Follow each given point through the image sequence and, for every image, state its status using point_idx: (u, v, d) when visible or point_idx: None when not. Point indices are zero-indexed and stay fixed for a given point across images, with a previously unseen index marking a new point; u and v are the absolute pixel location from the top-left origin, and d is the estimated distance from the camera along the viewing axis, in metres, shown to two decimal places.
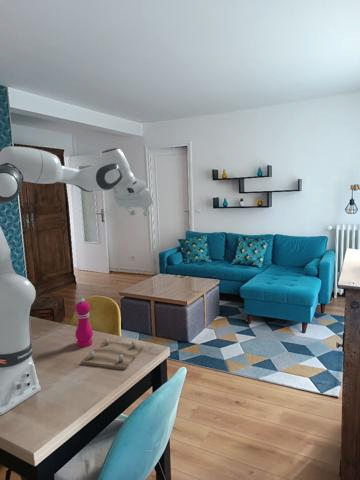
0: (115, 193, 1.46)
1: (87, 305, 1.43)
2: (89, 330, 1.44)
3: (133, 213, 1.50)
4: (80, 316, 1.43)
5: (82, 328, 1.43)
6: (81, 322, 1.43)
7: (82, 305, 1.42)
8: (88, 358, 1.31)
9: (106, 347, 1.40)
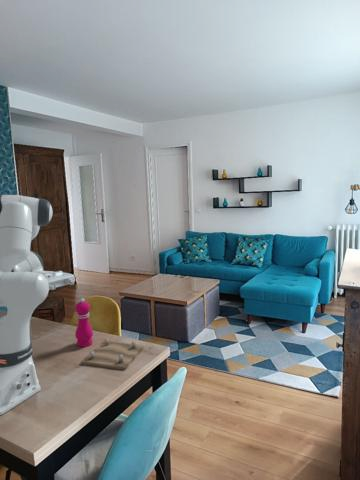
0: None
1: (87, 305, 1.43)
2: (89, 330, 1.44)
3: None
4: (80, 316, 1.43)
5: (82, 328, 1.43)
6: (81, 322, 1.43)
7: (82, 305, 1.42)
8: (88, 358, 1.31)
9: (106, 347, 1.40)
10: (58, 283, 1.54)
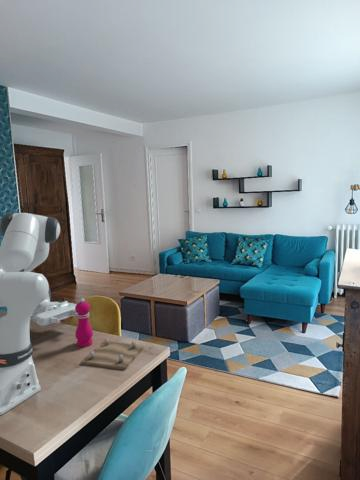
0: (39, 313, 1.51)
1: (87, 305, 1.43)
2: (89, 330, 1.44)
3: None
4: (80, 316, 1.43)
5: (82, 328, 1.43)
6: (81, 322, 1.43)
7: (82, 305, 1.42)
8: (88, 358, 1.31)
9: (106, 347, 1.40)
10: (64, 315, 1.54)
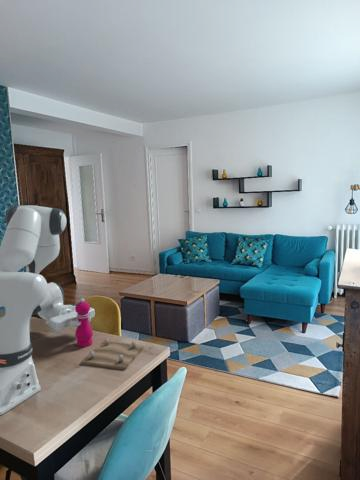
0: (52, 317, 1.45)
1: (87, 305, 1.43)
2: (89, 329, 1.44)
3: None
4: (80, 316, 1.43)
5: (82, 328, 1.43)
6: (81, 322, 1.43)
7: (82, 305, 1.42)
8: (88, 358, 1.31)
9: (106, 347, 1.40)
10: None
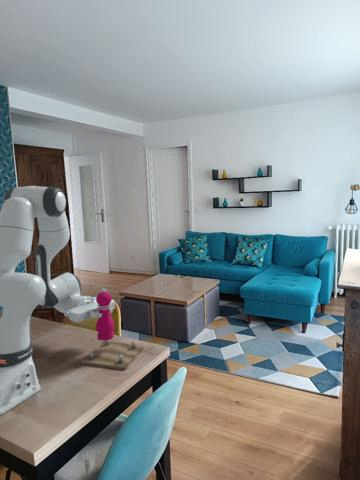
0: (71, 309, 1.36)
1: (109, 296, 1.34)
2: (111, 322, 1.35)
3: None
4: (101, 307, 1.33)
5: (104, 320, 1.34)
6: (102, 313, 1.34)
7: (104, 295, 1.33)
8: (88, 358, 1.31)
9: (106, 347, 1.40)
10: (98, 310, 1.39)
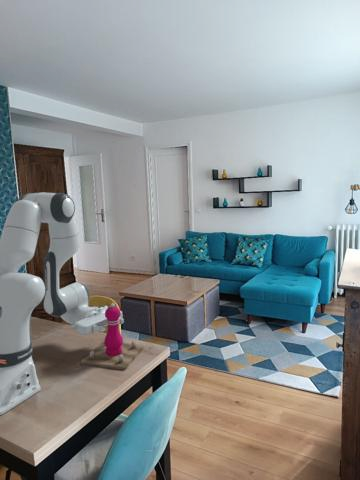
0: (78, 321, 1.34)
1: (118, 310, 1.32)
2: (119, 337, 1.33)
3: None
4: (110, 322, 1.32)
5: (112, 335, 1.32)
6: (111, 328, 1.32)
7: (113, 310, 1.31)
8: (88, 358, 1.31)
9: (106, 347, 1.40)
10: (106, 322, 1.37)
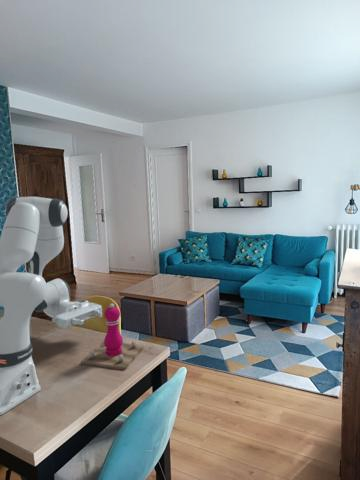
0: (59, 314, 1.41)
1: (117, 311, 1.32)
2: (119, 337, 1.33)
3: None
4: (110, 323, 1.31)
5: (112, 336, 1.32)
6: (111, 329, 1.32)
7: (112, 311, 1.31)
8: (88, 358, 1.31)
9: None
10: (85, 316, 1.45)
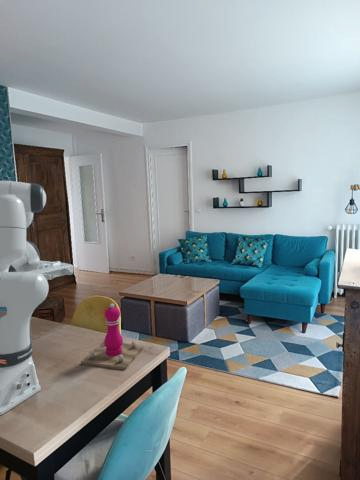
0: (29, 271, 1.44)
1: (117, 311, 1.32)
2: (119, 337, 1.33)
3: None
4: (110, 323, 1.31)
5: (112, 335, 1.32)
6: (111, 329, 1.32)
7: (112, 311, 1.31)
8: (88, 358, 1.31)
9: None
10: (56, 273, 1.48)
